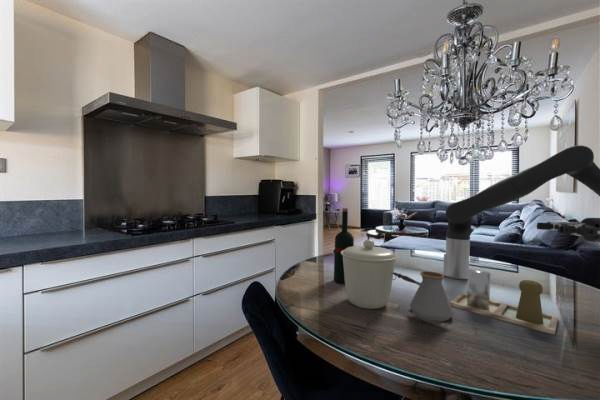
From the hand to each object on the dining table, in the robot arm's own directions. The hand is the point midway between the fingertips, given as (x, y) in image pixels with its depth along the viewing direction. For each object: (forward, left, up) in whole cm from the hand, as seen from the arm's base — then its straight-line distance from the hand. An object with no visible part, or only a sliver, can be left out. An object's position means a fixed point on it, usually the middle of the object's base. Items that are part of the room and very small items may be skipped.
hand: (547, 227), depth 87 cm
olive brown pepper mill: (-2, -15, -26) cm, 30 cm away
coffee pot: (-24, -37, -27) cm, 52 cm away
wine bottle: (-59, -25, -27) cm, 70 cm away
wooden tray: (-9, -15, -27) cm, 32 cm away
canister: (-41, -37, -27) cm, 61 cm away
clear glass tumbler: (-15, -15, -26) cm, 33 cm away
